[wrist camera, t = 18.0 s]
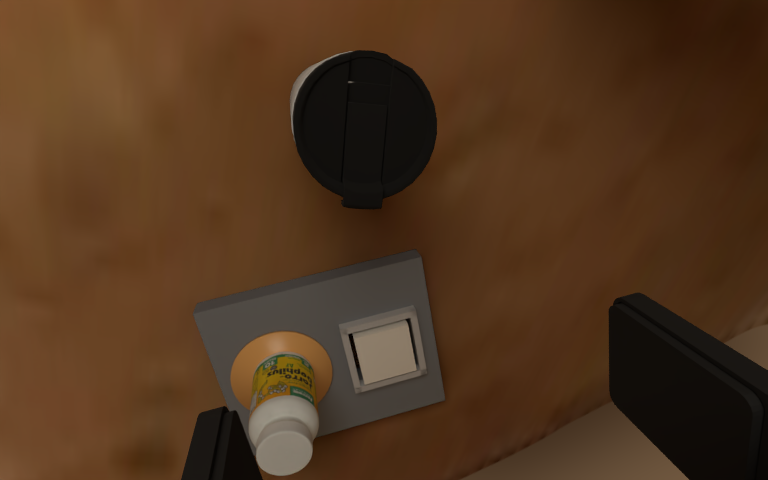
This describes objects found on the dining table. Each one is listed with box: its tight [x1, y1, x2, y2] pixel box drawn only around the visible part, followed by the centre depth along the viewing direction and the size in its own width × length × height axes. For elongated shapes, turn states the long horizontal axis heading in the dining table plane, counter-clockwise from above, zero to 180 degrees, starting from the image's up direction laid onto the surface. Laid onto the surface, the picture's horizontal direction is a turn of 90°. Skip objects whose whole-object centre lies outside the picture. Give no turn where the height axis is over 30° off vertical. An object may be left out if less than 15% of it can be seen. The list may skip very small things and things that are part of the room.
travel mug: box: [290, 50, 437, 209], centre depth 28 cm, size 6×7×20 cm
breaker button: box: [352, 319, 417, 385], centre depth 44 cm, size 5×5×3 cm
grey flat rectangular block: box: [193, 249, 445, 455], centre depth 43 cm, size 20×16×3 cm
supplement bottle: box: [248, 351, 319, 476], centre depth 38 cm, size 5×5×10 cm
